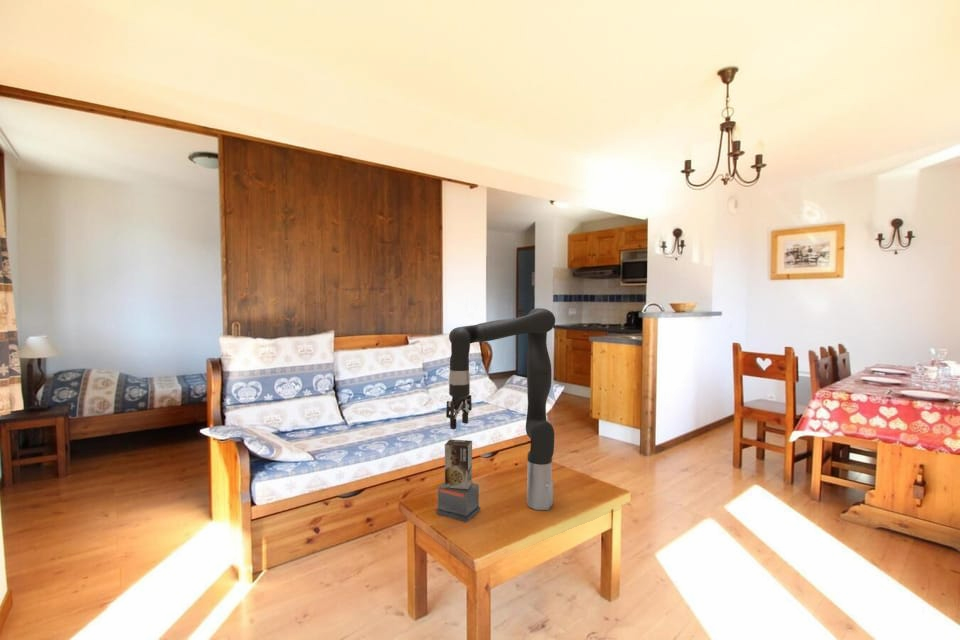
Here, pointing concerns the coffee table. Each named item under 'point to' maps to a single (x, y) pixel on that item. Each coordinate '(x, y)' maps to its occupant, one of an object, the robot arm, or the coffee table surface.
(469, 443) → the coffee box
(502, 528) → the coffee table surface
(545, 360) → the robot arm
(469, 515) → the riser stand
